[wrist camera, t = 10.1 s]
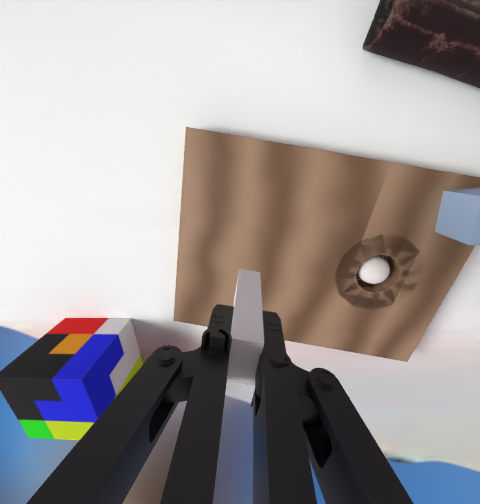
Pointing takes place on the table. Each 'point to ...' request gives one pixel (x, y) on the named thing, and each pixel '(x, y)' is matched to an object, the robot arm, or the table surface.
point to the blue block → (460, 215)
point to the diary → (430, 35)
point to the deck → (315, 240)
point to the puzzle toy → (71, 376)
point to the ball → (374, 270)
